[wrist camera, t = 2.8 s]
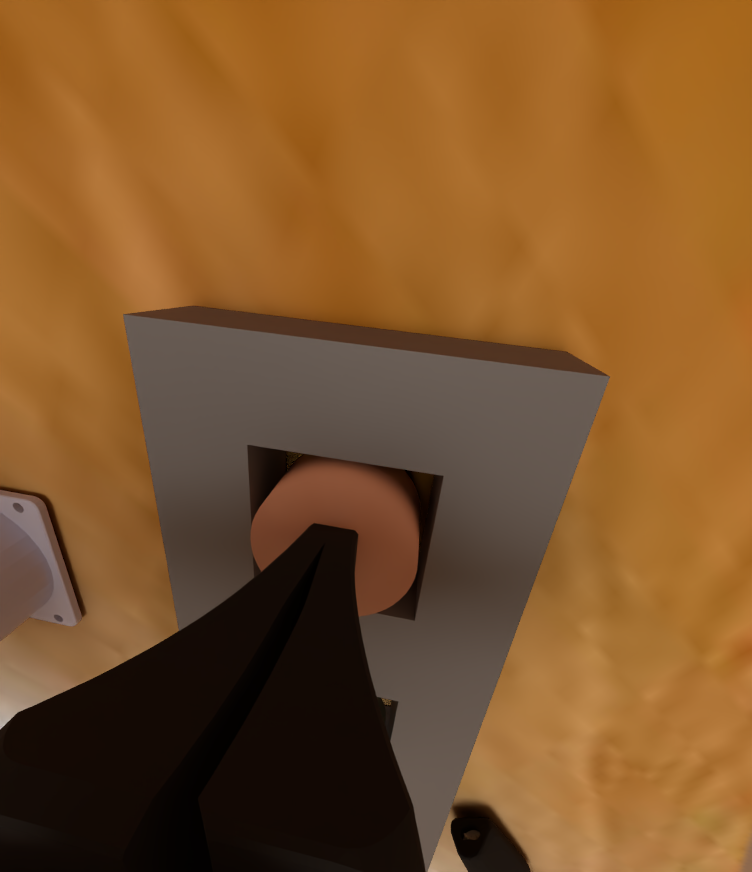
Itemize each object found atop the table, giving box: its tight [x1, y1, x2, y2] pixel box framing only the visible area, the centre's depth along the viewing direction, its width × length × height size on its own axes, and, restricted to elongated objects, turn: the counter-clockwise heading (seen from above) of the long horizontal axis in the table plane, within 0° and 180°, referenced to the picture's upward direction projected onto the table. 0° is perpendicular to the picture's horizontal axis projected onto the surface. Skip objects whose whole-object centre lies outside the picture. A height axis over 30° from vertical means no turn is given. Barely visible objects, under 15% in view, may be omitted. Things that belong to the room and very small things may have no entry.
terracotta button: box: [250, 454, 421, 617], centre depth 12 cm, size 5×5×2 cm
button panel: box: [123, 306, 610, 872], centre depth 17 cm, size 12×32×3 cm, turn 174°
